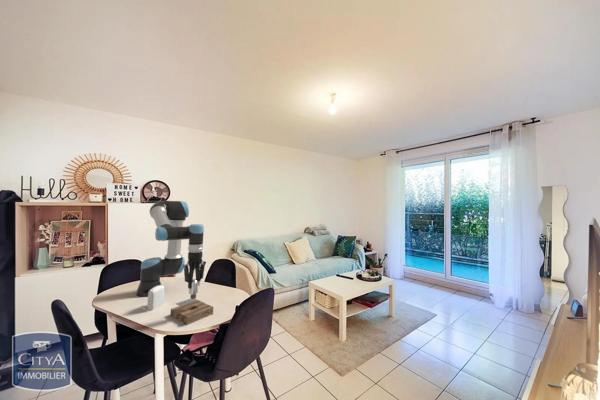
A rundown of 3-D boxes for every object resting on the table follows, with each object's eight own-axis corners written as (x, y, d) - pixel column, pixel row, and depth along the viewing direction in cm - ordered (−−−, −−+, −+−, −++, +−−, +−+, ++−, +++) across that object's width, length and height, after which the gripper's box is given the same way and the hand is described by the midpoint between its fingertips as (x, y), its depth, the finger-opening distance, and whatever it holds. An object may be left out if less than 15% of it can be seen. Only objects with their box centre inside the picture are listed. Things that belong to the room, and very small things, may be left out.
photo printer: (152, 311, 136) (153, 289, 136) (145, 310, 137) (147, 289, 137) (164, 304, 146) (166, 284, 147) (158, 303, 147) (159, 283, 147)
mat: (175, 304, 146) (175, 303, 146) (192, 298, 156) (192, 297, 156) (186, 309, 140) (186, 308, 140) (203, 303, 150) (203, 302, 150)
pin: (189, 298, 133) (190, 280, 133) (194, 296, 135) (194, 278, 136) (192, 299, 131) (193, 281, 132) (197, 297, 134) (198, 279, 134)
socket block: (170, 316, 131) (170, 308, 131) (196, 306, 144) (196, 300, 144) (187, 324, 122) (187, 317, 122) (213, 313, 136) (213, 306, 136)
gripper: (186, 254, 126) (184, 298, 125) (211, 250, 139) (209, 290, 138) (178, 252, 130) (176, 295, 129) (203, 248, 143) (201, 288, 142)
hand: (193, 292), depth 133 cm, fingers closed on pin, 2 cm apart
